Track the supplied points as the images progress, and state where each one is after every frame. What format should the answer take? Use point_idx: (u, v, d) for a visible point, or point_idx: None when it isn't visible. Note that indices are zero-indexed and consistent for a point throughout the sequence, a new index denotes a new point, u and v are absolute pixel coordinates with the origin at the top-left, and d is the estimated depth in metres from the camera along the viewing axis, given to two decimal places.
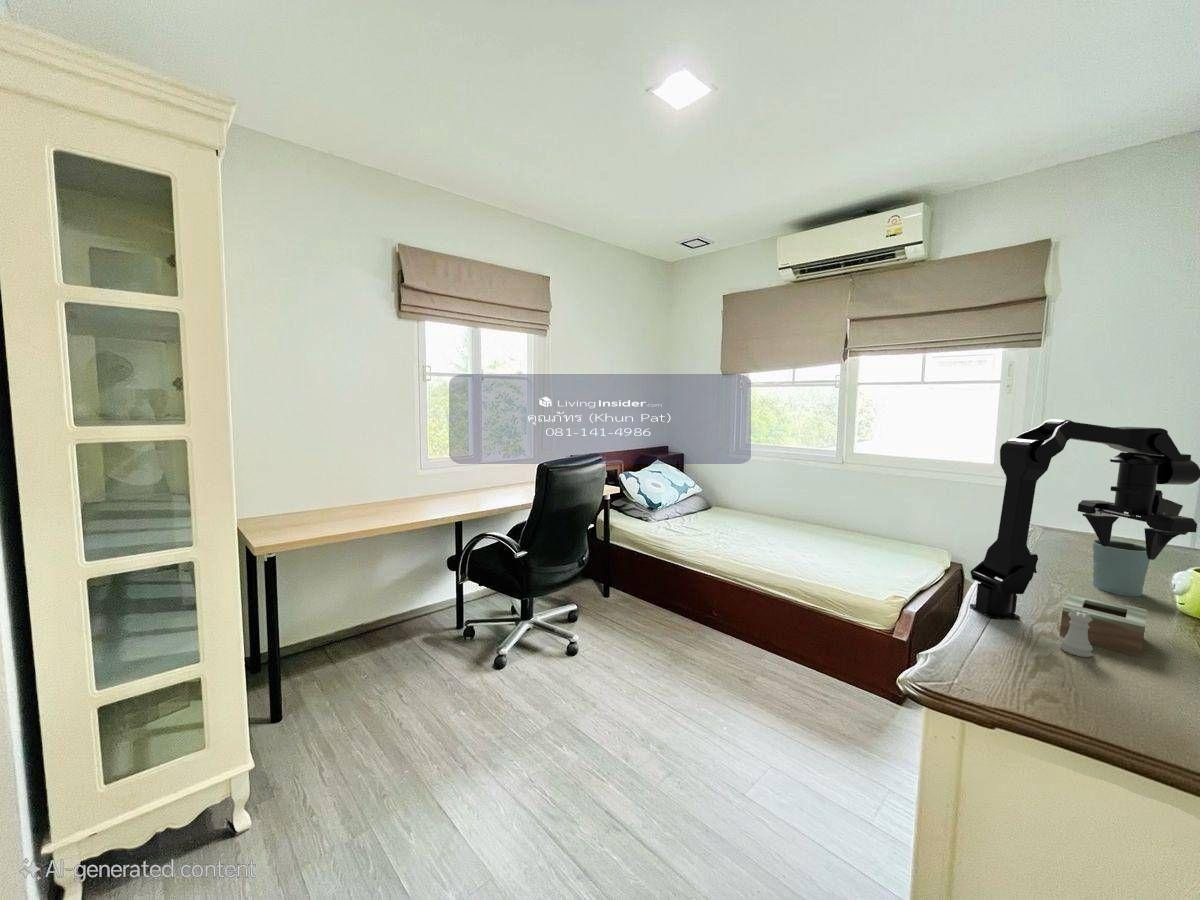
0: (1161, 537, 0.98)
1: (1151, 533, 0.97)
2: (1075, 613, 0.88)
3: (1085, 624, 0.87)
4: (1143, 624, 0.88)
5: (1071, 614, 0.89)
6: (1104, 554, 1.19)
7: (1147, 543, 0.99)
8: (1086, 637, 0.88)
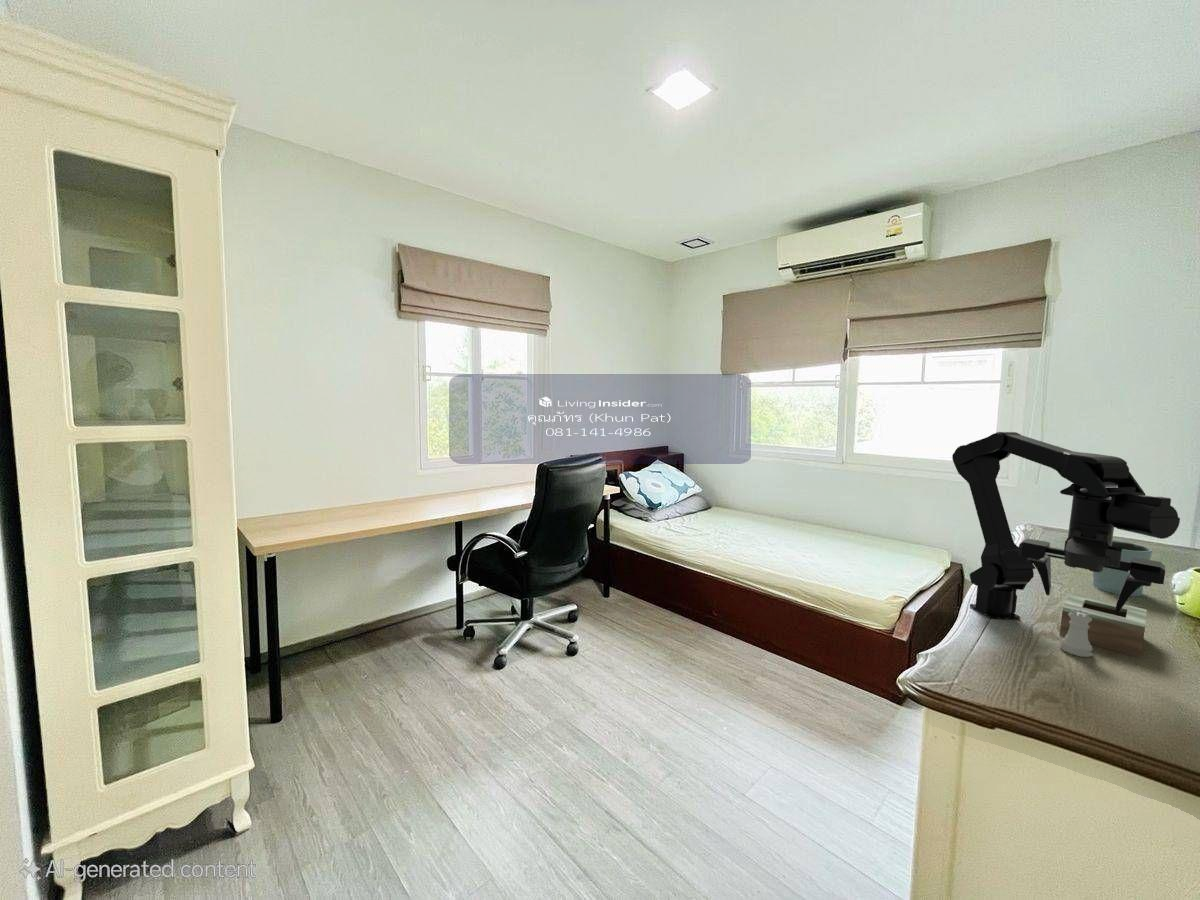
0: None
1: None
2: (1075, 613, 0.88)
3: (1085, 624, 0.87)
4: (1143, 624, 0.88)
5: (1071, 614, 0.89)
6: None
7: None
8: (1086, 637, 0.88)
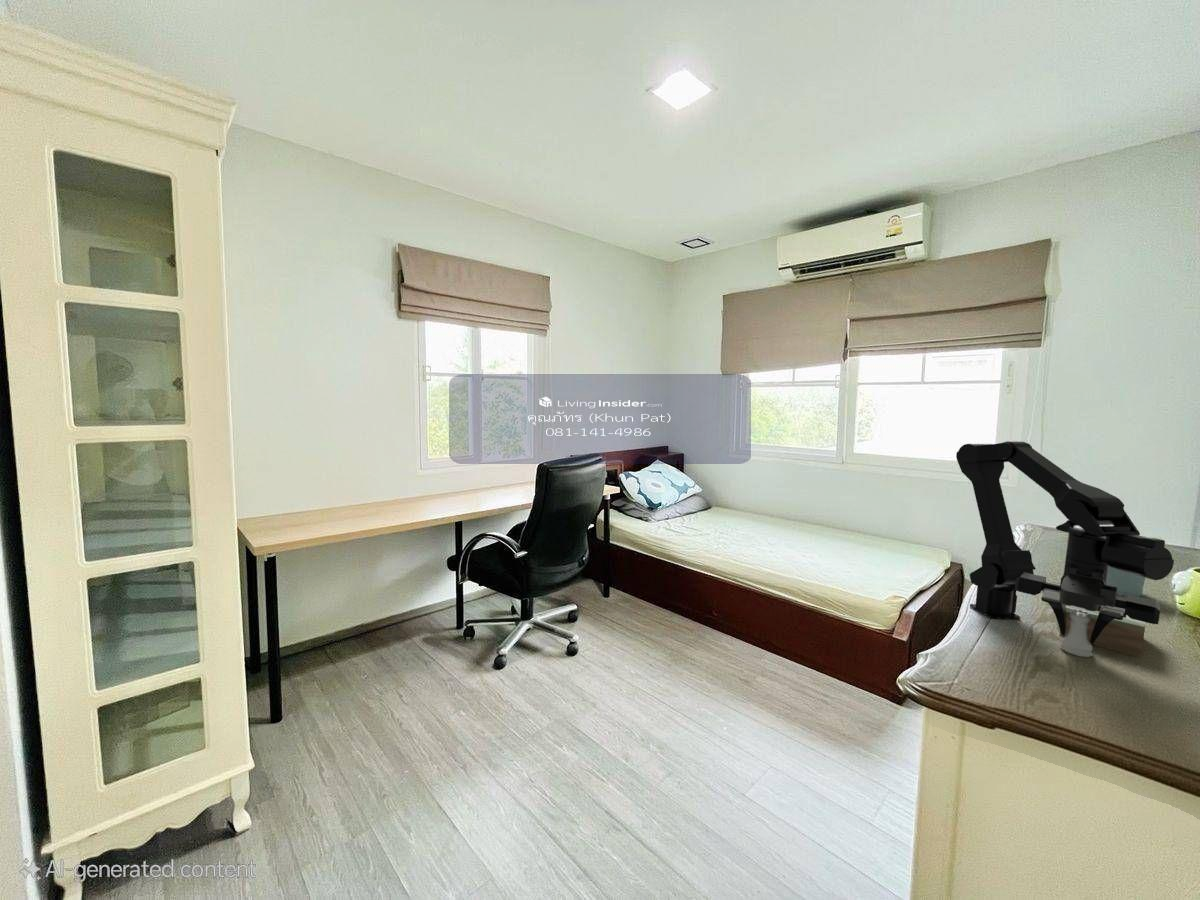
0: None
1: None
2: (1075, 613, 0.88)
3: (1085, 624, 0.87)
4: (1143, 624, 0.88)
5: (1071, 614, 0.89)
6: None
7: None
8: (1086, 637, 0.88)
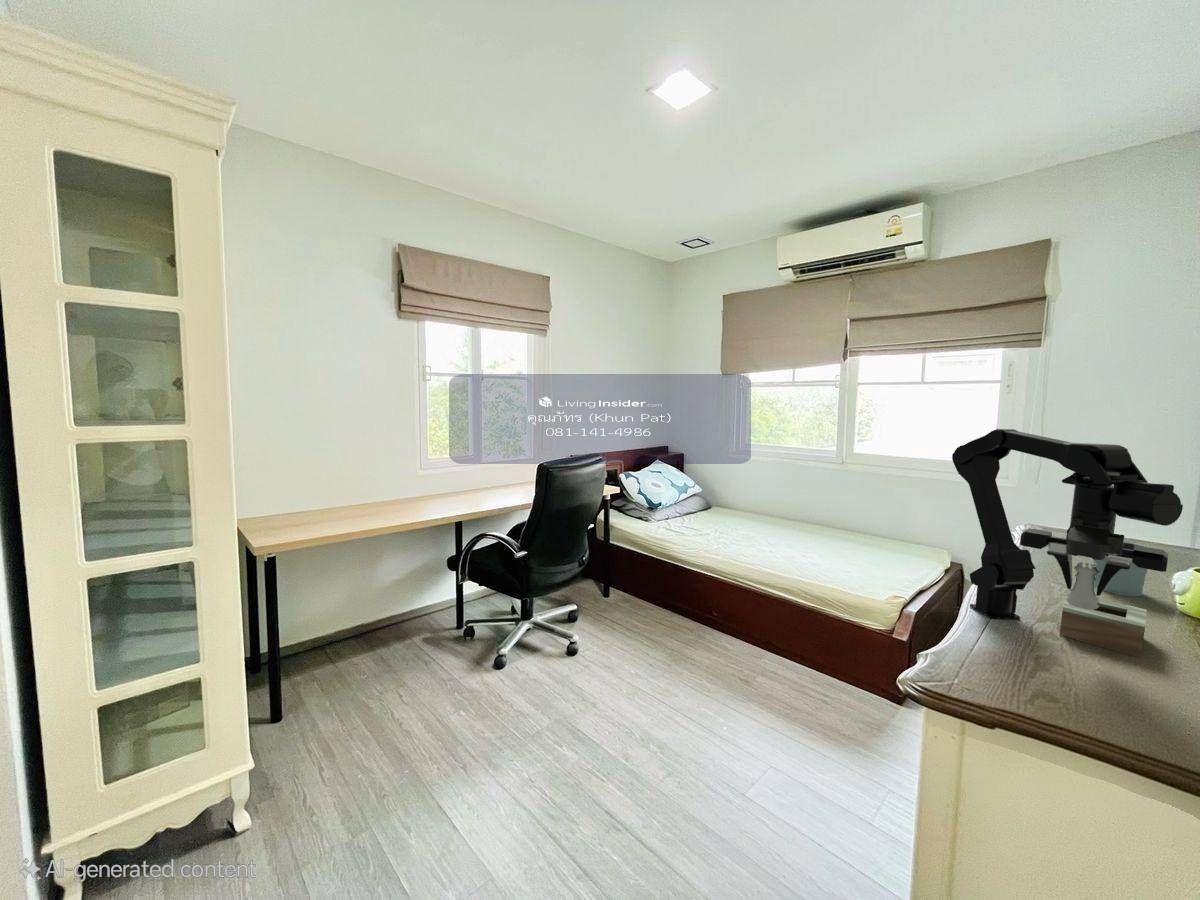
0: None
1: None
2: (1081, 565, 0.87)
3: (1091, 576, 0.87)
4: (1143, 624, 0.88)
5: (1077, 567, 0.88)
6: None
7: None
8: (1092, 589, 0.87)
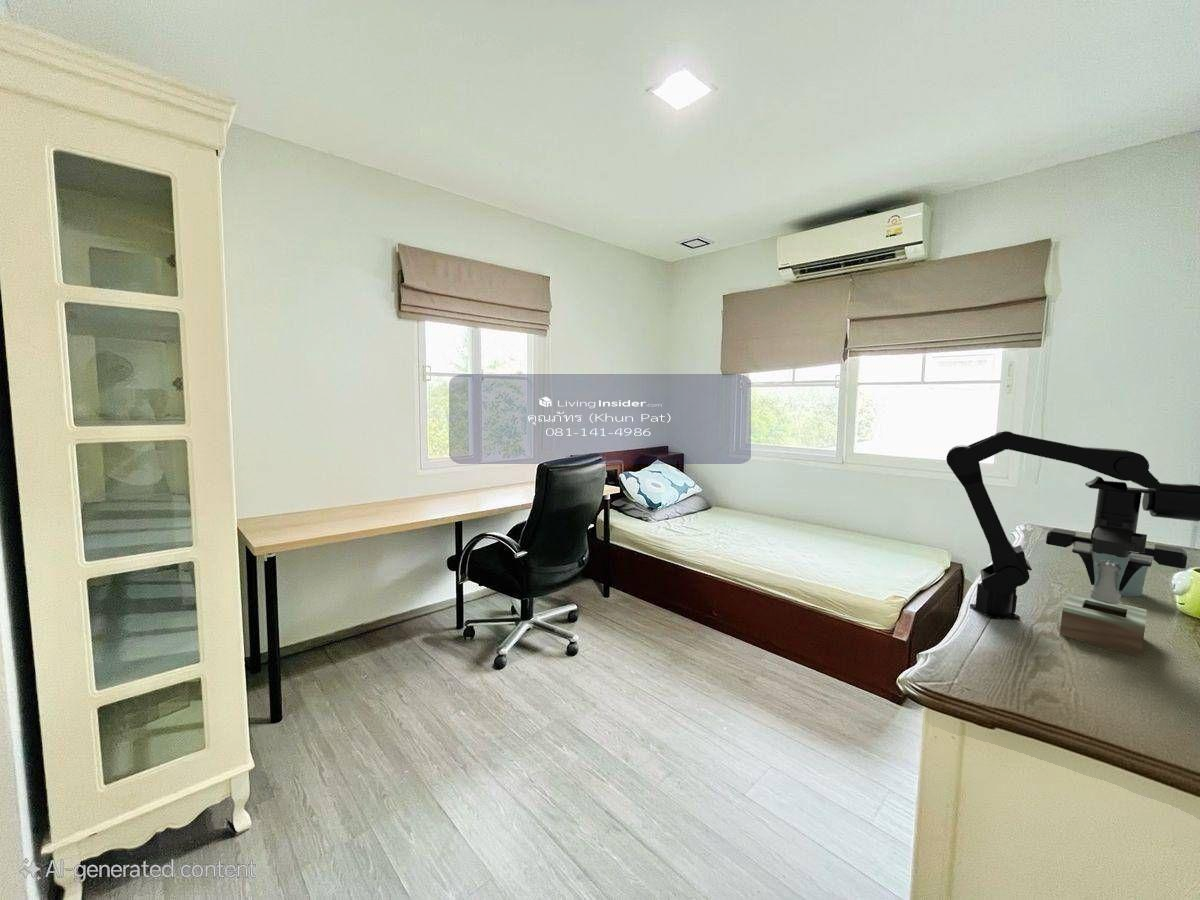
0: None
1: None
2: (1105, 563, 0.94)
3: (1114, 573, 0.93)
4: (1143, 624, 0.88)
5: (1101, 564, 0.94)
6: (1104, 554, 1.19)
7: None
8: (1115, 585, 0.93)
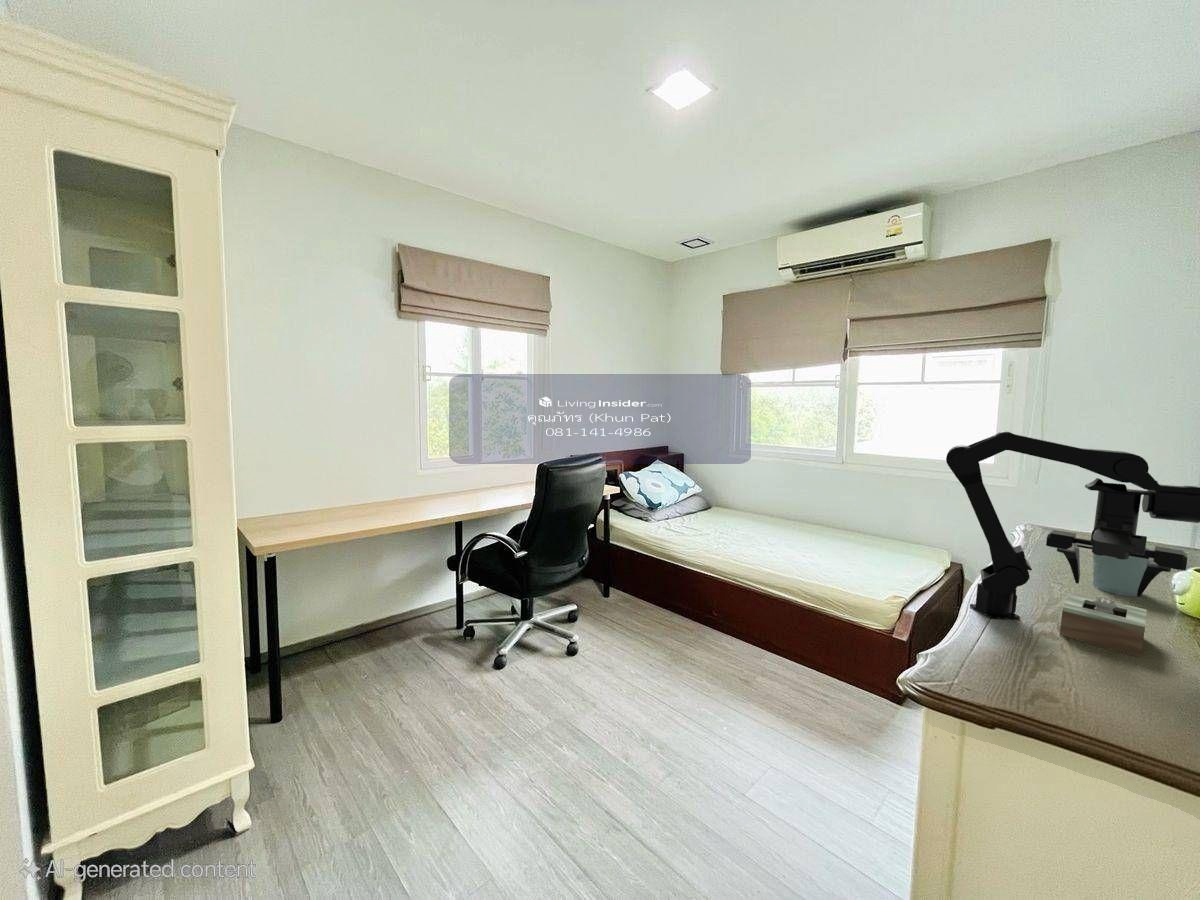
0: None
1: None
2: (1100, 600, 0.95)
3: (1109, 610, 0.94)
4: (1143, 624, 0.88)
5: (1096, 601, 0.95)
6: None
7: None
8: None
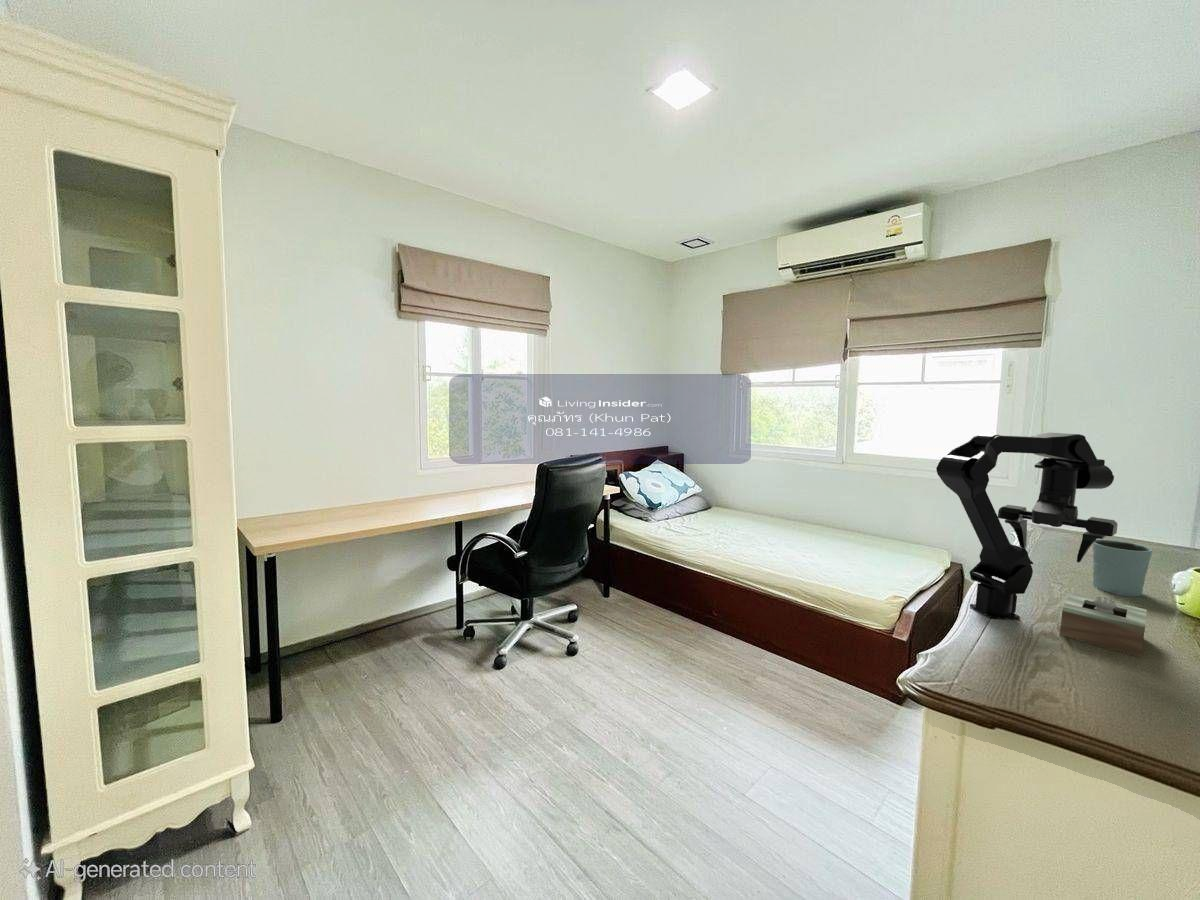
0: None
1: None
2: (1100, 600, 0.95)
3: (1109, 610, 0.94)
4: (1143, 624, 0.88)
5: (1096, 601, 0.95)
6: (1104, 554, 1.19)
7: None
8: None
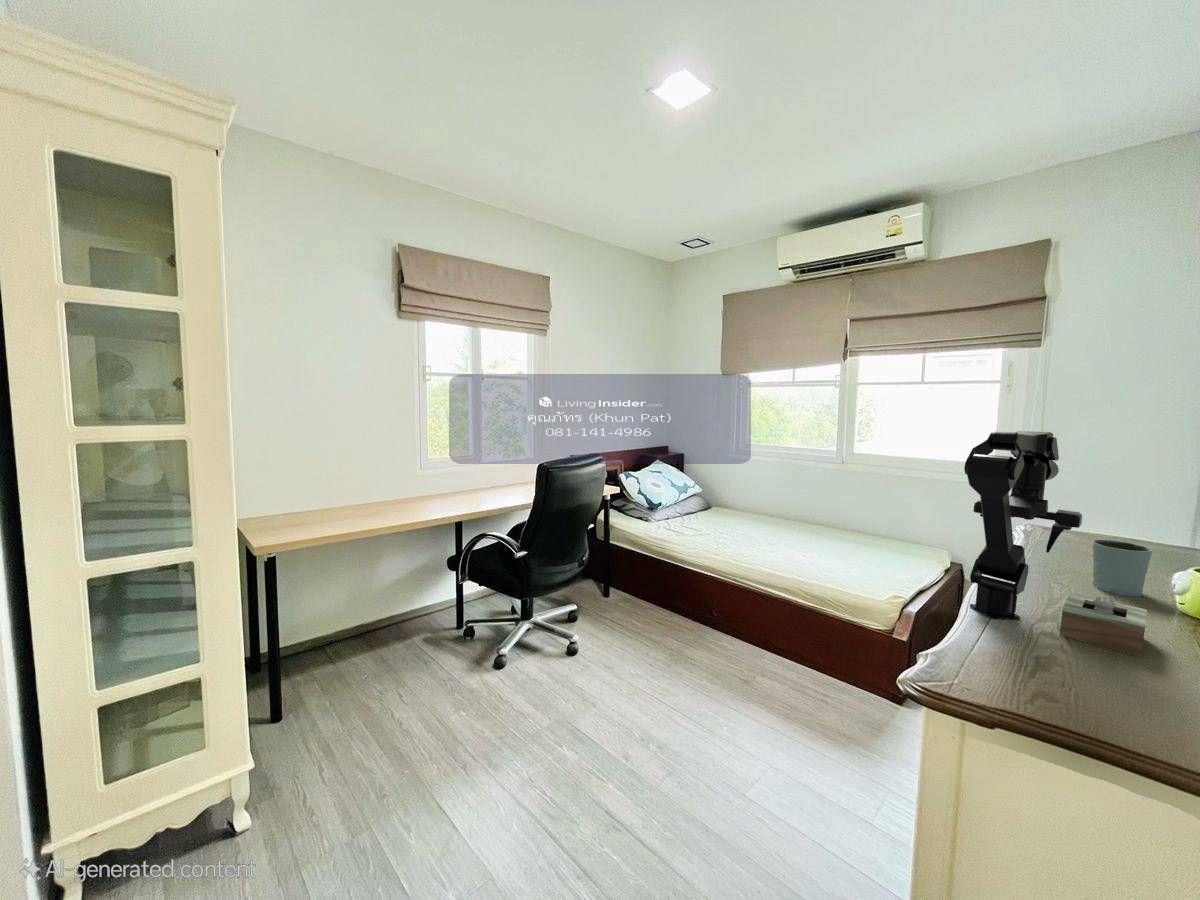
0: None
1: None
2: (1099, 600, 0.95)
3: (1109, 610, 0.94)
4: (1143, 624, 0.88)
5: (1096, 601, 0.95)
6: (1104, 554, 1.19)
7: None
8: None
